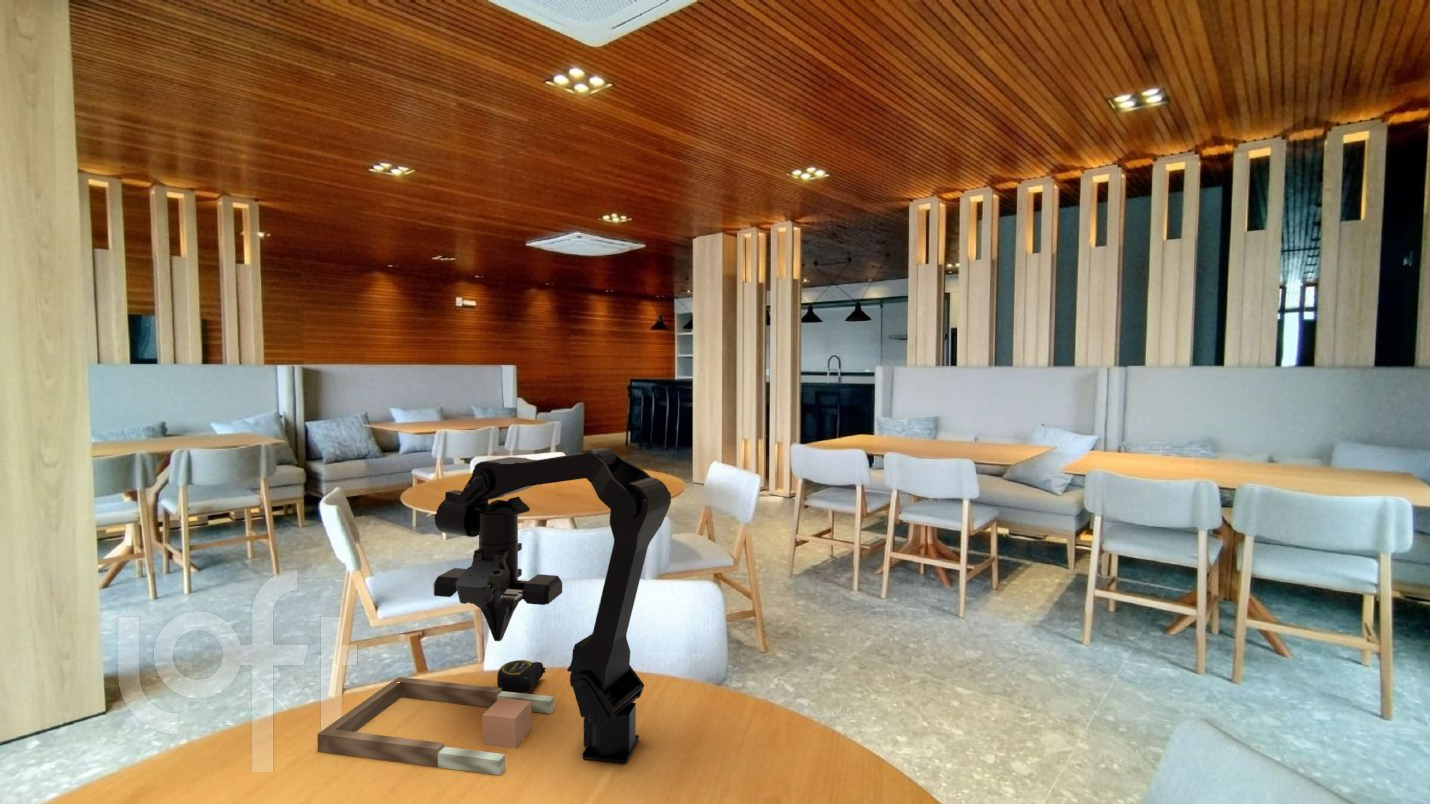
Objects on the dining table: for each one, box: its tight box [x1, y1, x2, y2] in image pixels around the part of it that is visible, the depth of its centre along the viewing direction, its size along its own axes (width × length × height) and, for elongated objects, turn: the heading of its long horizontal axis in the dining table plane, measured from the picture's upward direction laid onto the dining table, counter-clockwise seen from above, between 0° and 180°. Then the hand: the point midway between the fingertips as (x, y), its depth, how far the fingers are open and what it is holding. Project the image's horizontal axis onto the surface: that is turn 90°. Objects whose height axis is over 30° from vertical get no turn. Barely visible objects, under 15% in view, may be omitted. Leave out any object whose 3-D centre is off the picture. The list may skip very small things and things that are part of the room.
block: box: [482, 698, 532, 750], centre depth 97 cm, size 5×5×4 cm
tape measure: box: [496, 659, 546, 694], centre depth 112 cm, size 7×7×4 cm
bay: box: [316, 676, 555, 776], centre depth 99 cm, size 28×18×2 cm, turn 80°
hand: (498, 640), depth 102 cm, fingers closed
